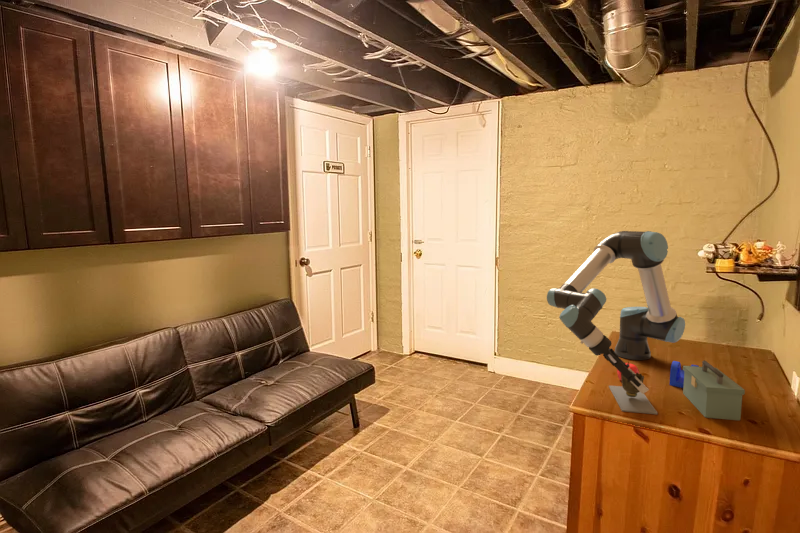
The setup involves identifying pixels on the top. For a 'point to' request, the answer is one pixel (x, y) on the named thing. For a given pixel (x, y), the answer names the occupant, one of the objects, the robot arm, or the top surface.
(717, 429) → the top surface
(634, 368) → the apple
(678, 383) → the bracket
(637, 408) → the rubber mat
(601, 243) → the robot arm
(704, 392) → the toolbox
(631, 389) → the cup
